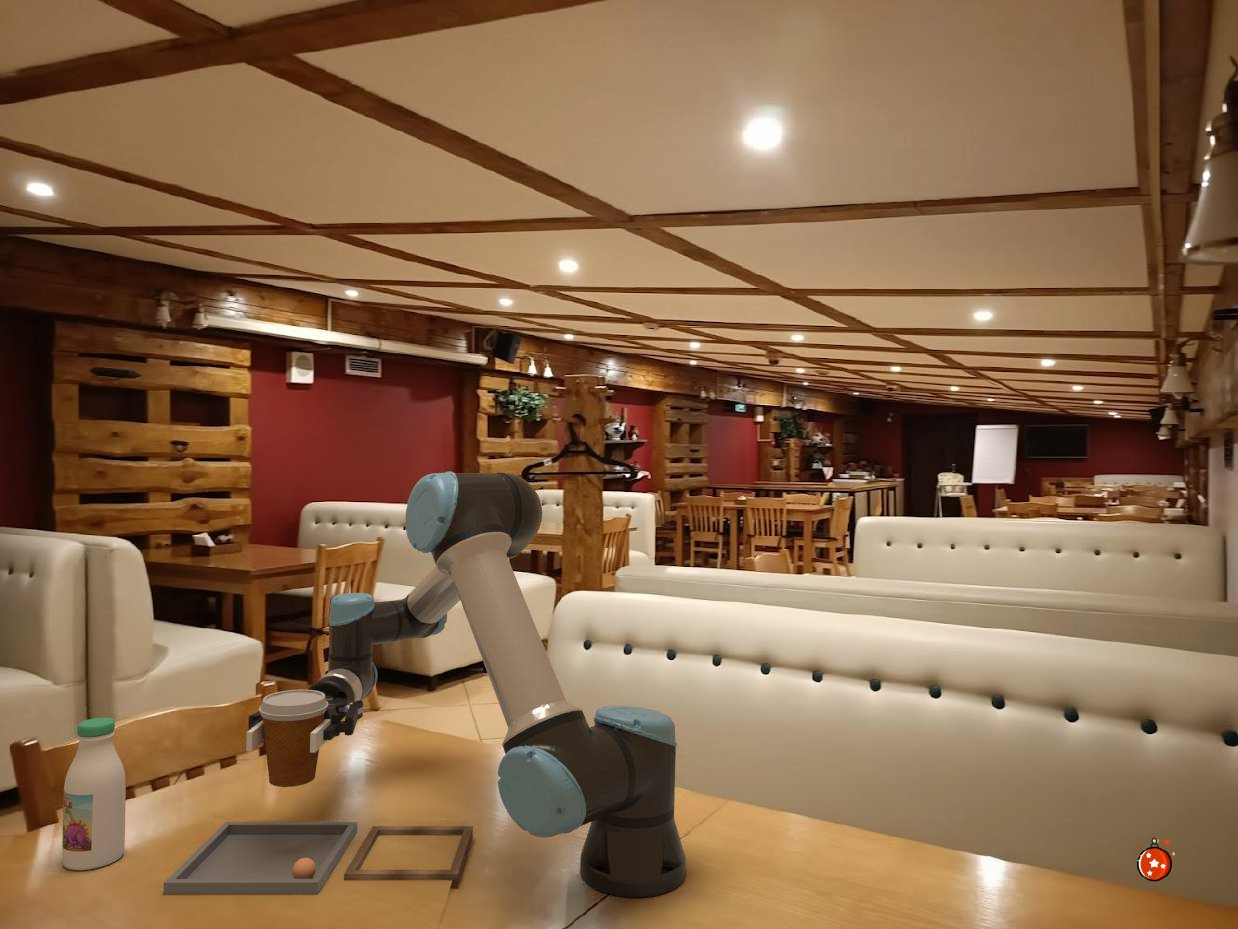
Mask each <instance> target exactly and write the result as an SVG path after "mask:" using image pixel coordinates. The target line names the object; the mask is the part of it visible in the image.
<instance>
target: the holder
mask: <svg viewBox="0 0 1238 929" xmlns="http://www.w3.org/2000/svg"><path fill="white" fill-rule="evenodd" d="M379 836H461V838H460V840H459V844H458V847H457V850H456V852H455V856H454V858H453V861H452V865H451V866H450V869H361V867H362V866H363V863H364V861H365V860H366V858H367V857H368V855H369V853H370V851H371V849H372V847H373V846H374V844H375V842H376V840H377V839H378V838H379ZM473 837H474V826H472V825H471V826H470V825H468V826H467V825H463V826H461V825H460V826H459V825H454V826H453V825H452V826H451V825H450V826H449V825H442V826H441V825H435V826H434V825H430V826H429V825H427V826H426V825H424V826H423V825H422V826H421V825H418V826H417V825H416V826H414V825H412V826H411V825H409V826H408V825H404V826H403V825H395V826H394V825H388V826H387V825H383V826H382V825H381V826H380V825H379V826H378V825H374V826H373V825H372V827H371V829H370V830H369V831H368V833H367V835H366V837H365V838H364V840H363V841H362V843H361V845H360V847H359V848H358V850H357V852H356V853H355V855H354V857H353V858H352V860H351V861H350V863H349V865H348V866H347V868H346V870H345V872H344V873H343V880H344V881H451V883H450V886H449V889H450V890H451V889H458V888H459V885H460V881H461V878H462V876H461V875H463V872H464V870H465V865H466V863H465V862H467V858H468V855H469V852H470V850H469V849H471V846H472V842H473V840H474V839H473Z"/></svg>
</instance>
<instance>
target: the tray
mask: <svg viewBox="0 0 1238 929" xmlns="http://www.w3.org/2000/svg"><path fill="white" fill-rule="evenodd" d="M357 833H358V821H349V822H348V821H339V822H338V821H337V822H336V821H225V822H224V823H223V824H222V825H221V826H220V827H219V828H217V830H216V831H215V832H213V833H212V835H211V836H209V838H208V839H207V840H206V841H205V842H203V844H201V846H199V848H197V849H196V851H194V852H193V853H192V854H191V855H190V857H188V858H187V859H186V860H185V861H184V862H183V863H182V864H181V865H180V866H179V867H178V868H177V869H176V870H175V871H174V872H173V873H172V874H171V875H170V876H169V877H168V878H167V879H166V880H165V881H164V882H163V895H171V896H172V895H176V896H177V895H180V896H181V895H319V894H320V892H321V890H322V889H323V888H324V886H325V884H326V883H327V881H328V879H329V878H330V876H331V875H332V873H333V871H334V870H335V868H336V866H338V864H339V862H340V860H341V859H342V857H343V856H344V854H345V853H346V851H347V849H348V848H349V846H350V845H351V843H352V841H353V840H354V838H355V837H356V835H357ZM302 858H310V859H312V860H313V861H314V863H315V865H316V871H315V874H314V876H313V877H312V878H311V879H295V878H294V877H293V874H292V870H293V866H294V864H295V863H296V862H297V861H298V860H300V859H302Z"/></svg>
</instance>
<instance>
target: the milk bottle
mask: <svg viewBox="0 0 1238 929" xmlns="http://www.w3.org/2000/svg"><path fill="white" fill-rule="evenodd" d="M115 726H116V725H115V719H114V718H111V717H95V718H90V719H89V718H88V719H86V720H82V721H81V722H79V723H78V725H77V732H76V733H77V740H78V747H77V751H76V754H75V755H74V758H73V760H72V762H71V764H70V766H69V768H68V770H67V773H66V776H65V779H64V787H63V799H62V802H63V805H62V806H63V807H62V839H61V841H62V843H61V845H62V848H61V851H62V852H61V853H62V854H61V860H62V861H61V862H62V865H63V867H65V868H66V869H68V870H72V871H85V870H86V871H88V870H92V869H93V870H94V869H98V868H102V867H105V866H107V865H110V864H112V863H114V862H117V860H119V859H120V858H121V857H122V856H123V854H124V852H125V849H126V848H125V847H126V846H125V844H126V841H125V840H126V791H127V790H126V789H127V788H126V772H125V768H124V764H123V761H122V760H121V758H120V756H119V754H118V752H117V750H116V747H115V745H114V741H113V737H114V735H115Z"/></svg>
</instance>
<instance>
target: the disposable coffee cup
mask: <svg viewBox="0 0 1238 929" xmlns="http://www.w3.org/2000/svg"><path fill="white" fill-rule="evenodd" d="M327 707H328V702H327V701H326V697H325V694H324V693H322V692H320V691H315V690H308V689H290V690H289V689H288V690H283V691H276V692H274V693H269V694H268V695H265V697H263V698H262V701H261V704H260V706H259V708H258V711H259V712H260V713H261V716H262V719H263V727H264V736H265V741H264V745H265V746H264V747H265V752H266V753H265V756H266V762H267V772H268V781H269V782H268V783H269V785H271V786H275V787H279V788H292V787H298V786H304V785H306V784H309V783H311V782H312V781H314V780H315V778H316V774H317V773H316V772H317V766H318V759H319V753H320V748H319V749H318V750H317V751H316V752H315V753H313V752H310V733H311V732H312V731H313V730H314V729H316V728H317V727H318V726H319V725H320V724H321V723H322V722H323V721H324V714H325V712H326V709H327Z"/></svg>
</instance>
